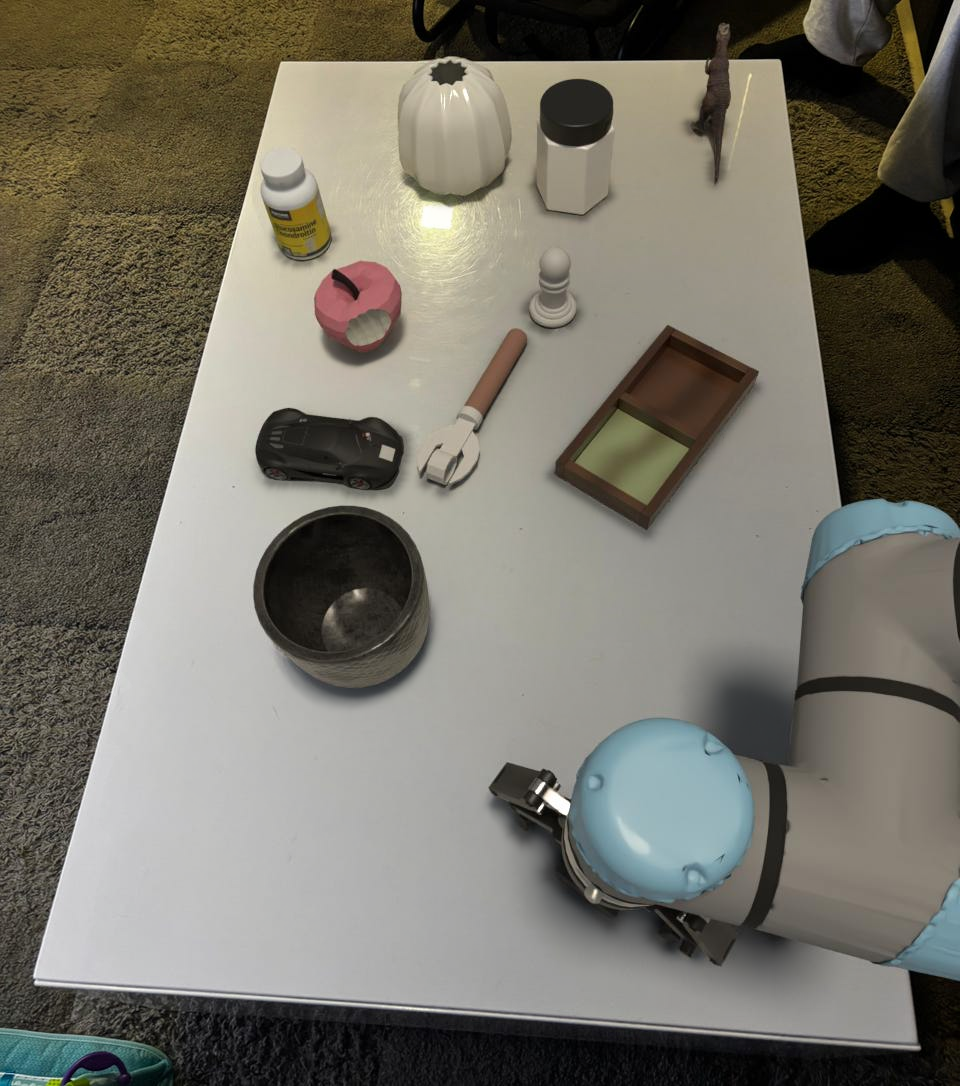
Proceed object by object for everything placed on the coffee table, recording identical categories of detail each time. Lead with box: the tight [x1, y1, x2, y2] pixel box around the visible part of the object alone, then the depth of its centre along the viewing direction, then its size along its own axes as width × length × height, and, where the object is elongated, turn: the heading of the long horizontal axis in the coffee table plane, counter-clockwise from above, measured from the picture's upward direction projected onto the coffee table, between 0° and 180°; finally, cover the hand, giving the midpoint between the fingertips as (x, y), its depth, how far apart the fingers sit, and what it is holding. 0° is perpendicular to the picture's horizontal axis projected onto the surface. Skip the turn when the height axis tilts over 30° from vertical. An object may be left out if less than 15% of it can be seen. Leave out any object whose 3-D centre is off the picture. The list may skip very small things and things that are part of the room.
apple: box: [313, 260, 403, 354], centre depth 89 cm, size 10×9×10 cm
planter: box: [252, 504, 431, 689], centre depth 72 cm, size 14×14×13 cm
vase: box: [397, 55, 513, 197], centre depth 98 cm, size 14×14×13 cm
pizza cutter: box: [416, 328, 528, 486], centre depth 87 cm, size 20×6×3 cm, turn 154°
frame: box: [554, 324, 760, 531], centre depth 84 cm, size 11×21×3 cm, turn 143°
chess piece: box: [528, 246, 578, 329], centre depth 89 cm, size 5×5×9 cm
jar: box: [536, 78, 615, 216], centre depth 96 cm, size 9×8×12 cm
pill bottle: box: [259, 146, 332, 261], centre depth 95 cm, size 6×6×12 cm
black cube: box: [554, 858, 621, 919], centre depth 65 cm, size 6×6×4 cm
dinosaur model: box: [690, 22, 732, 179], centre depth 98 cm, size 4×12×15 cm
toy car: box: [254, 407, 405, 491], centre depth 85 cm, size 7×15×4 cm, turn 81°
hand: (599, 867), depth 67 cm, fingers open, 13 cm apart
